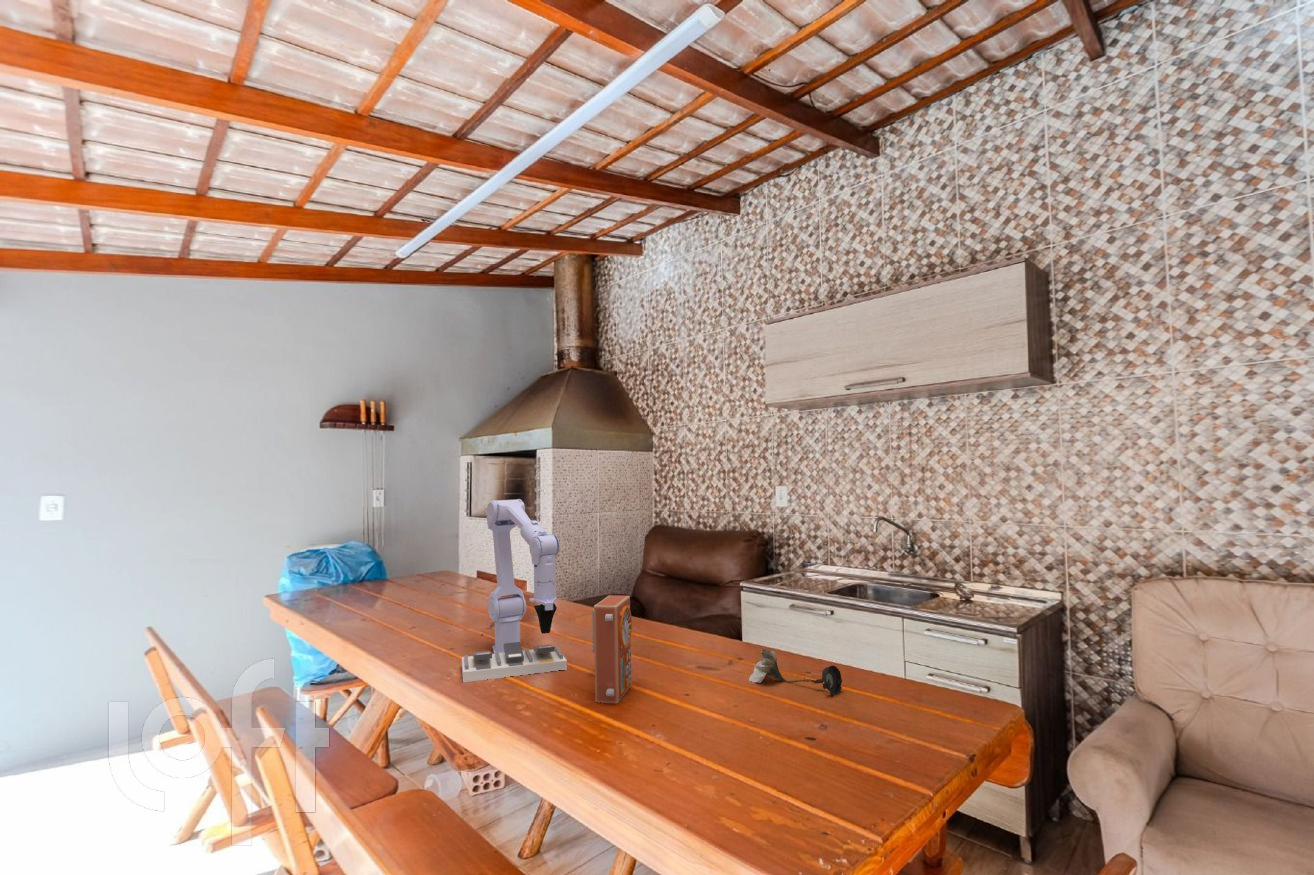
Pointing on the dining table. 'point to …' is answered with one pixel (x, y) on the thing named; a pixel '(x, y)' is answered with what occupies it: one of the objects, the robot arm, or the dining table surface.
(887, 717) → the dining table surface
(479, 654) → the rocker
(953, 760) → the dining table surface
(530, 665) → the switch board
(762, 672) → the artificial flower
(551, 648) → the block
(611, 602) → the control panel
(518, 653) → the middle rocker
